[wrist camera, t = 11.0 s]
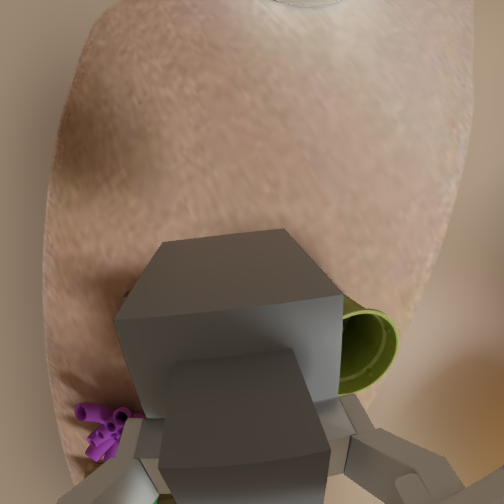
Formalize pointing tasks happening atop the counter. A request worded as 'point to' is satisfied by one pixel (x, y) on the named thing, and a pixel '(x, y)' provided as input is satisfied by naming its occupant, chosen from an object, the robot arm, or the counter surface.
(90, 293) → the counter surface
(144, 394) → the grey stepped block
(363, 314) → the plant pot
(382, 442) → the robot arm
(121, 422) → the purple tube coral
